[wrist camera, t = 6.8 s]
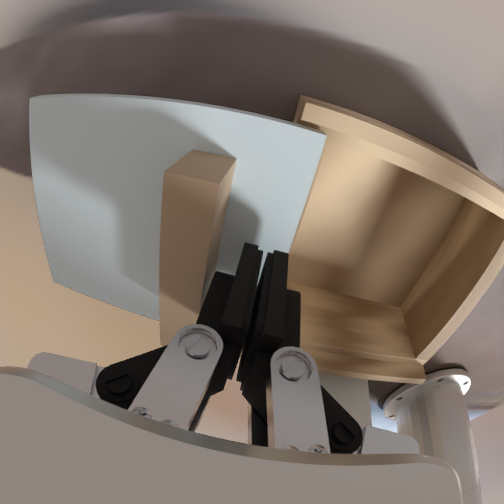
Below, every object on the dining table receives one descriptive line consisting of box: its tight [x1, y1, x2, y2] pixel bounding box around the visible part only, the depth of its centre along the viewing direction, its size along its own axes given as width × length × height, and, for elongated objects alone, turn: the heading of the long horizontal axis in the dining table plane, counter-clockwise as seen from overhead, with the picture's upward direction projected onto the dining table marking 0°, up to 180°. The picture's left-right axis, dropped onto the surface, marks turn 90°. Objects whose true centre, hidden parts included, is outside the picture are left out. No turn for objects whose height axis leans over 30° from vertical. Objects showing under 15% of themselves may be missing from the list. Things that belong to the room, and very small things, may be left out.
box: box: [240, 94, 504, 384], centre depth 15 cm, size 13×13×7 cm
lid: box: [29, 94, 327, 346], centre depth 11 cm, size 13×11×3 cm
